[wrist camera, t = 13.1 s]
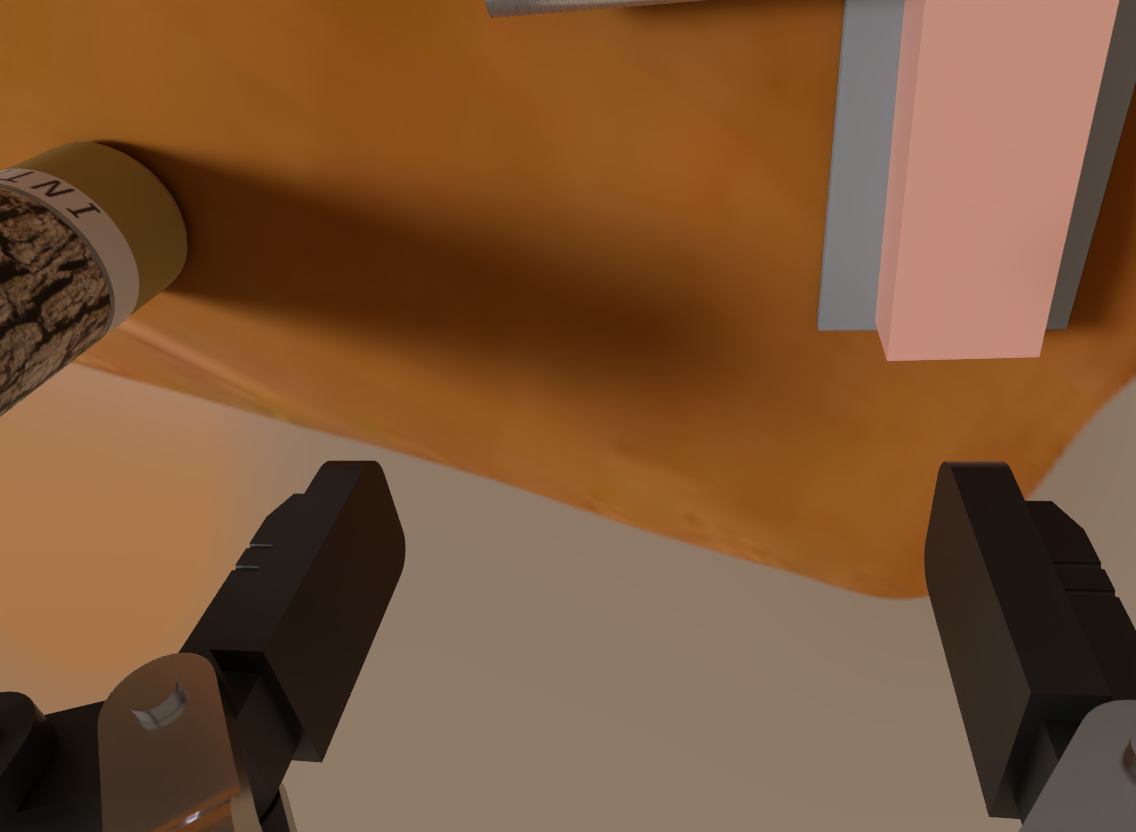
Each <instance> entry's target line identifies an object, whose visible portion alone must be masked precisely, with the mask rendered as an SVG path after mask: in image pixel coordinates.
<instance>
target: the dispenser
mask: <svg viewBox="0 0 1136 832" xmlns="http://www.w3.org/2000/svg"><path fill="white" fill-rule="evenodd" d="M485 1H486V6H487V10H488V13H489V15H490V17H491V18H497V17H509V16H521V15H534V14H546V13H558V12H571V11H583V10H595V9H608V8H620V7H632V6H645V5H657V4H670V3H682V2H694V1H707V0H485Z"/></svg>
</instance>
